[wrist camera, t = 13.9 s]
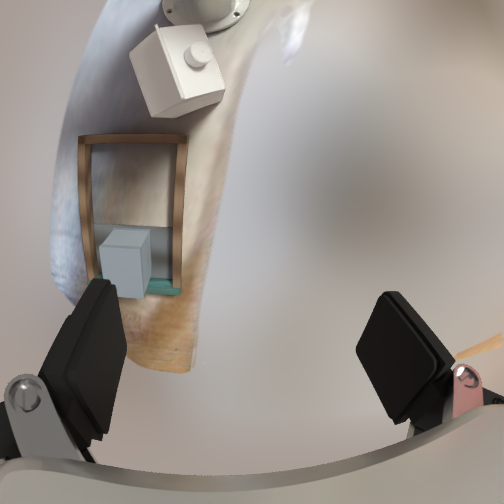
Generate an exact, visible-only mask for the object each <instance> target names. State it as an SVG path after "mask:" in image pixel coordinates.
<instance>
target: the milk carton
mask: <svg viewBox="0 0 504 504" xmlns="http://www.w3.org/2000/svg"><path fill="white" fill-rule="evenodd" d="M155 28H156V30H155V31H154V32H152V33H151V34H150V35H149V36H148V37H146V38H145V39H144V40H143V41H142V42H141V43H140V44H138V45H137V46H136V47H135V48H134V49H133V50H132V51H131V52H130V53H129V57H130V60H131V63H132V66H133V68H134V71H135V74H136V77H137V80H138V82H139V85H140V88H141V91H142V94H143V96H144V99H145V102H146V104H147V107H148V110H149V112H150V115H151V117H162V118H177V117H179V116H182V115H184V114H187V113H189V112H192V111H195V110H197V109H200V108H203V107H205V106H208V105H211V104H214V103H217V102H220V101H222V99H223V95H224V92H225V84H224V81H223V78H222V75H221V73H220V70H219V67H218V64H217V62H216V59H215V56H214V54H213V51H212V49H211V46H210V43H209V41H208V38H207V36H206V33H205V31H204V28H203V26H202V25H201V24H195V25H180V26H170V27H161V28H159V27H158V25H157V24H156V25H155Z"/></svg>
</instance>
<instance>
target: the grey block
mask: <svg viewBox="0 0 504 504" xmlns="http://www.w3.org/2000/svg"><path fill="white" fill-rule="evenodd" d="M99 252H100V260H101V267H102V274H103V279H109V280H110V281H111V284H115V285H116V289H117V295H118V297H124V298H135V299H144V298H145V292H146V289H147V286H148V283H149V280H150V277H152V260H151V229H136V228H116V227H114V228H113V231H112V232H111V233H110V235H109V236H108V237H107V239H106V240H105V241H104V242H103V244H101V245H100V246H99Z"/></svg>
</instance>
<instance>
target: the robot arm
mask: <svg viewBox="0 0 504 504" xmlns="http://www.w3.org/2000/svg"><path fill="white" fill-rule="evenodd" d="M249 5H250V0H162V7H163V11H164V14H165V16H166V17H167V19H168V20H169V21H170V22H171V23H172V24H173V25H174V26H180V25H195V24H201V25H202V26H203V28H204V31H205V33H211V32H216V31H220V30H223V29H226V28H228V27H230V26H232V25H234V24H235V23H236V22H238V21H239V20H240V19H241V18H242V17H243V16H244V15H245V13H246V12H247V10H248V7H249ZM169 12H172V13H169ZM235 15H238V16H237V17H236V16H235ZM126 351H127V344H126V339H125V334H124V329H123V324H122V319H121V313H120V308H119V302H118V295H117V289H116V285H115V284H111V281H110V280H109V279H100V278H93V279H92V280H91V282H90V283H89V285H88V287H87V288H86V290H85V292H84V293H83V295H82V297H81V298H80V300H79V302H78V304H77V305H76V307H75V309H74V311H73V312H72V314H71V315H69V316H68V317H67V318H66V320H65V322H64V324H63V325H62V327H61V329H60V331H59V333H58V335H57V336H56V338H55V340H54V342H53V344H52V346H51V348H50V350H49V352H48V354H47V356H46V359H45V361H44V363H43V365H42V367H41V369H40V371H39V374H38V376H35V375H33V374H22V375H18V376H17V377H15V378H13V379H12V380H11V381H10V382H9V383H8V385H7V387H6V389H5V393H4V401H3V402H1V403H0V504H504V397H503V396H501V395H499V394H496V393H494V392H492V391H490V390H487V389H485V388H483V387H482V382H481V378H480V376H479V374H478V373H477V372H476V370H475V369H473V368H472V367H471V366H468V365H466V364H458V365H457V366H456V367H455V368H454V369H453V371H452V370H451V369H450V368H451V367H452V365H453V364H454V363H455V359H454V358H453V357H452V355H451V354H450V353H449V351H448V350H447V349H446V348H445V346H444V345H443V344H442V342H441V341H440V340H439V339H438V337H437V336H436V335H435V334H434V332H433V331H432V330H431V329H430V328H429V327H428V325H427V324H426V323H425V322H424V320H423V319H422V318H421V317H420V316H419V315H418V313H417V312H416V311H415V310H414V309H413V307H412V306H411V305H410V304H409V303H408V302H407V301H406V299H405V298H404V297H403V296H402V295H401V294H400V293H399V292H397V291H386V292H384V293H383V294H382V295H381V296H380V297H379V298H378V300H377V303H376V305H375V307H374V309H373V312H372V314H371V316H370V319H369V321H368V323H367V325H366V327H365V329H364V331H363V334H362V336H361V338H360V340H359V342H358V344H357V346H356V353H357V356H358V358H359V360H360V362H361V363H362V365H363V367H364V369H365V371H366V373H367V375H368V377H369V379H370V381H371V383H372V385H373V387H374V388H375V391H376V392H377V394H378V396H379V398H380V400H381V402H382V404H383V406H384V408H385V410H386V412H387V414H388V416H389V417H390V418H391V419H392V420H393V422H394V424H395V425H397V424H400V423H403V422H405V421H406V420H407V419H408V418H410V420H411V422H410V425H409V429H408V434H407V438H406V440H404V441H401V442H398V443H396V444H393V445H390V446H387V447H384V448H382V449H379V450H375V451H372V452H369V453H365V454H362V455H359V456H355V457H351V458H348V459H344V460H340V461H336V462H331V463H327V464H322V465H317V466H312V467H306V468H301V469H294V470H288V471H280V472H272V473H263V474H250V475H231V476H230V475H229V476H197V475H178V474H163V473H153V472H145V471H137V470H130V469H124V468H118V467H113V466H107V465H101V464H98V462H97V460H96V459H95V457H94V456H93V454H92V452H91V451H90V449H89V447H90V445H91V440H92V439H95V440H99V441H102V438H103V433H104V434H107V433H108V431H109V427H110V422H111V416H112V411H113V406H114V402H115V397H116V392H117V388H118V384H119V380H120V376H121V372H122V368H123V364H124V360H125V356H126Z"/></svg>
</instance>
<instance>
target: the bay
mask: <svg viewBox="0 0 504 504" xmlns="http://www.w3.org/2000/svg"><path fill="white" fill-rule="evenodd" d="M95 143H171V144H178V149H177V161H176V175H175V192H174V214H173V228H169V227H152V226H134V225H115V224H94V221H93V207H92V181H91V154H92V144H95ZM188 143H189V135H185V134H159V133H119V134H93V135H83V136H78V189H79V206H80V219H81V229H82V238H83V246H84V253H85V260H86V266H87V272H88V278H89V281H88V284H89V283H90V282H91V280H92V279H93V278H100V279H103V274H102V267H101V260H100V252H99V246H100V245H101V244H103V242H104V241H105V240H106V239H107V237H108V236H109V235H110V233H111V232H112V231H113V228H114V227H116V228H136V229H151V260H152V277H150V280H149V283H148V286H147V289H146V292H145V293H150V294H163V295H177V296H180V292H181V273H182V231H183V209H184V192H185V178H186V165H187V153H188ZM163 278H164V279H163Z"/></svg>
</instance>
